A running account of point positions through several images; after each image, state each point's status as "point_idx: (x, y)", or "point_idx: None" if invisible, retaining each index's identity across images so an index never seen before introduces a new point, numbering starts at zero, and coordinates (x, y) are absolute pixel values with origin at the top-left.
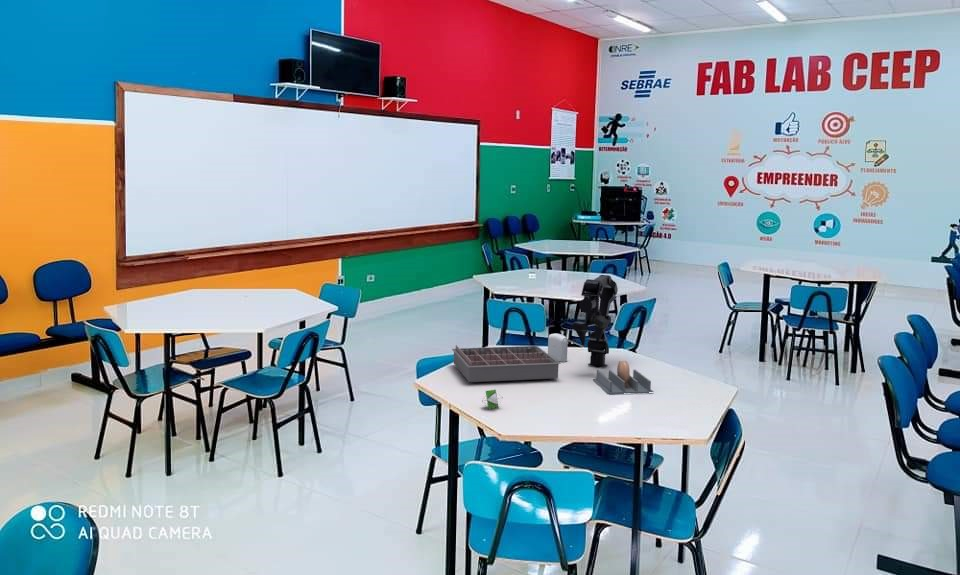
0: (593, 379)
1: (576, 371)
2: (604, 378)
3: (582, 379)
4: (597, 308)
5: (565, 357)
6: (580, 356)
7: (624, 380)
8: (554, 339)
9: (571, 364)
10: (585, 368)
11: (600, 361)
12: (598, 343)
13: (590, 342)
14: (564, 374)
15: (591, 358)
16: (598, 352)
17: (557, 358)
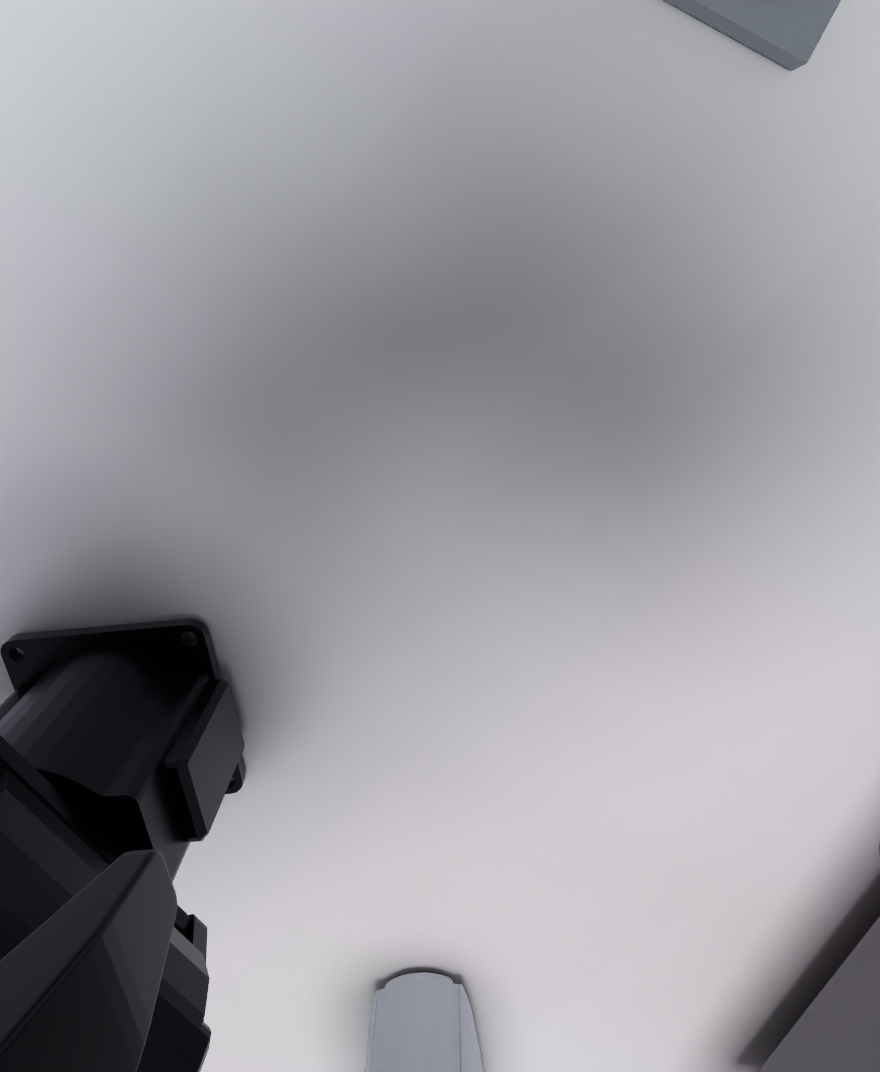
0: (820, 34)
1: (597, 626)
2: None
3: (874, 234)
4: None
5: (410, 1023)
6: None
7: None
8: None
9: (415, 877)
10: (377, 681)
11: (109, 684)
12: (15, 943)
13: (162, 1068)
14: (862, 586)
15: (211, 793)
16: (67, 815)
17: (478, 1050)
